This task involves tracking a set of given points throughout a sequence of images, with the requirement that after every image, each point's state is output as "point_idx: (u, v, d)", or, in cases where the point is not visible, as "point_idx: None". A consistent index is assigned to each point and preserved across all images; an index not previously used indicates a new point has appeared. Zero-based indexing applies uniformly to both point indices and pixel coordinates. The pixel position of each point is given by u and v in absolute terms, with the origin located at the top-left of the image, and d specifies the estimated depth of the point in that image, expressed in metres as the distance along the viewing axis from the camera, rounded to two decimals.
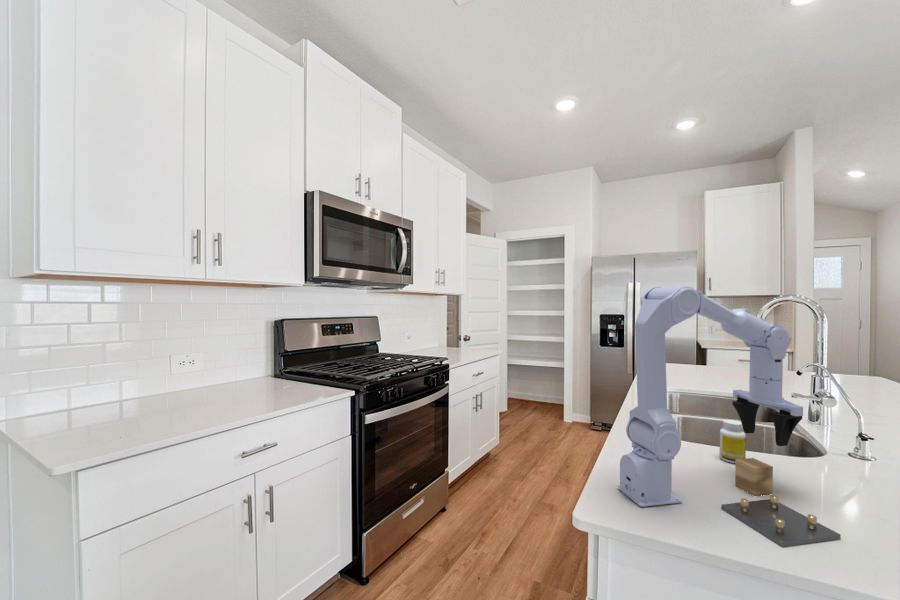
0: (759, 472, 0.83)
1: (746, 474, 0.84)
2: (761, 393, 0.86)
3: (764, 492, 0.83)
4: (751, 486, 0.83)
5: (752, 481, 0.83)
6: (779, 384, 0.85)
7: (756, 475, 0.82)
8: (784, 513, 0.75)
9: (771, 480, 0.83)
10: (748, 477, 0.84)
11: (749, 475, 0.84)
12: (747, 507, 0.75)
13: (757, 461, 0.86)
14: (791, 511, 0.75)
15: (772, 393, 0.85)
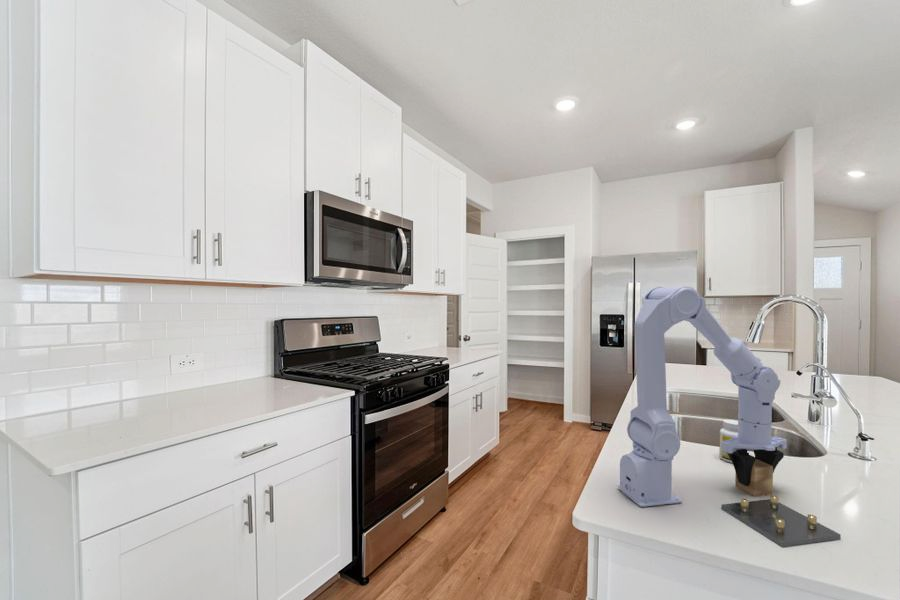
0: (759, 471, 0.83)
1: None
2: None
3: (764, 492, 0.83)
4: (751, 486, 0.83)
5: (752, 481, 0.83)
6: (745, 425, 0.84)
7: (756, 474, 0.82)
8: (784, 513, 0.75)
9: (771, 480, 0.83)
10: None
11: None
12: (747, 507, 0.75)
13: (757, 461, 0.86)
14: (791, 511, 0.75)
15: (739, 431, 0.86)
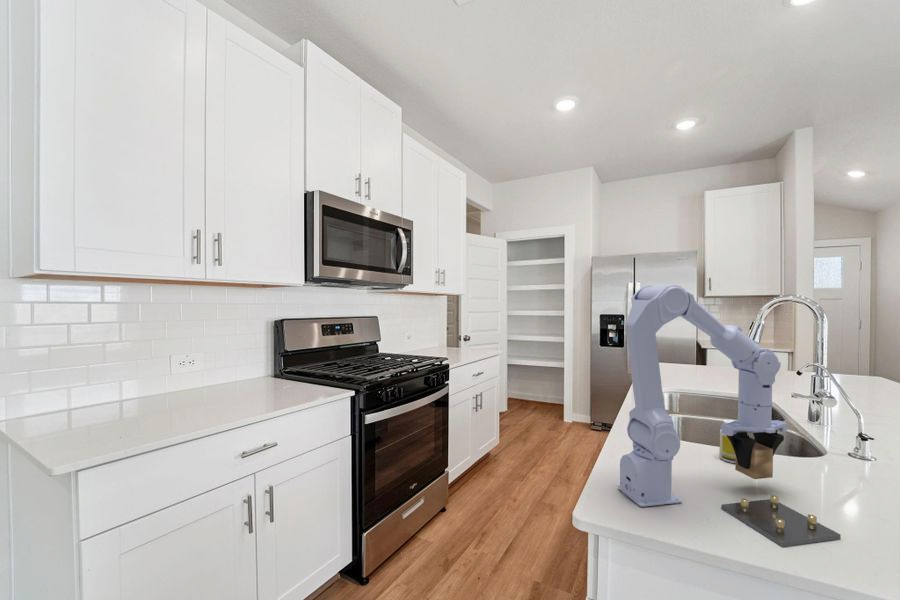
0: (759, 454, 0.83)
1: None
2: None
3: (764, 474, 0.83)
4: (751, 469, 0.83)
5: (752, 464, 0.83)
6: (745, 408, 0.84)
7: (756, 457, 0.82)
8: (784, 513, 0.75)
9: (771, 463, 0.83)
10: None
11: None
12: (747, 507, 0.75)
13: (757, 444, 0.86)
14: (791, 511, 0.75)
15: (739, 415, 0.85)
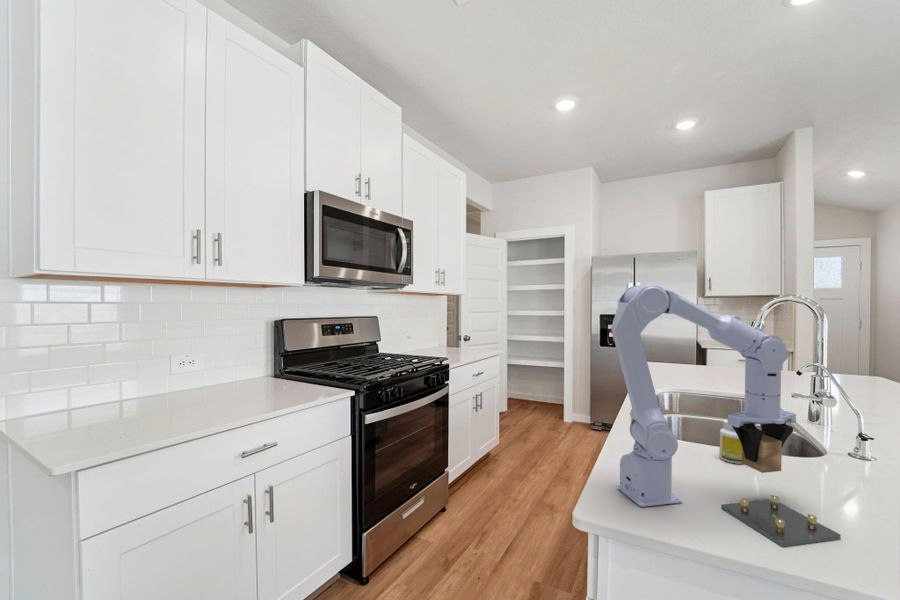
0: (768, 446, 0.78)
1: None
2: None
3: (772, 468, 0.79)
4: (758, 462, 0.79)
5: (760, 457, 0.79)
6: (752, 398, 0.80)
7: (764, 449, 0.78)
8: (784, 513, 0.75)
9: (780, 455, 0.79)
10: None
11: None
12: (747, 507, 0.75)
13: (765, 436, 0.81)
14: (791, 511, 0.75)
15: (746, 405, 0.81)
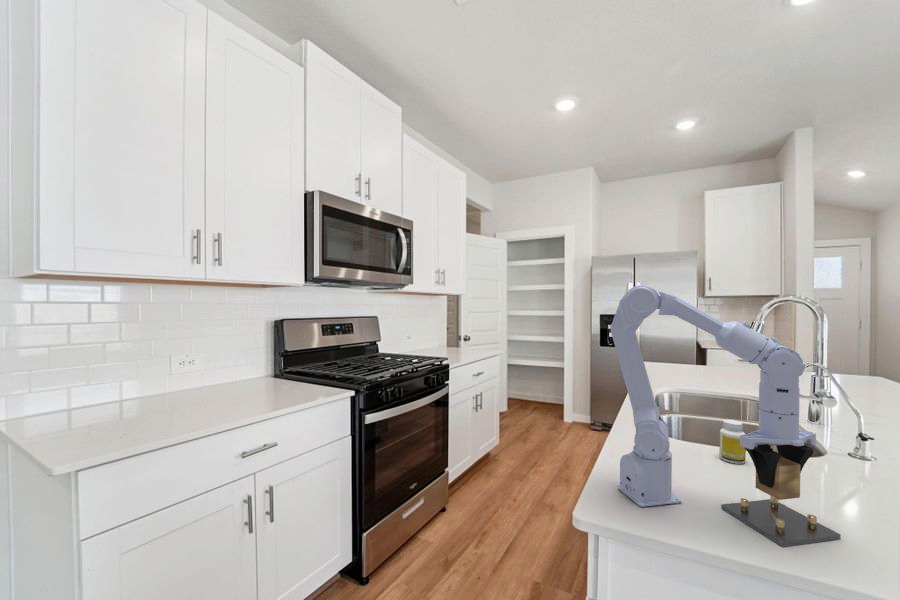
0: (785, 471, 0.70)
1: None
2: None
3: (790, 494, 0.71)
4: (774, 487, 0.71)
5: (776, 482, 0.71)
6: (767, 416, 0.72)
7: (781, 474, 0.70)
8: (784, 513, 0.75)
9: (798, 480, 0.71)
10: None
11: None
12: (747, 507, 0.75)
13: (781, 458, 0.74)
14: (791, 511, 0.75)
15: (760, 424, 0.73)
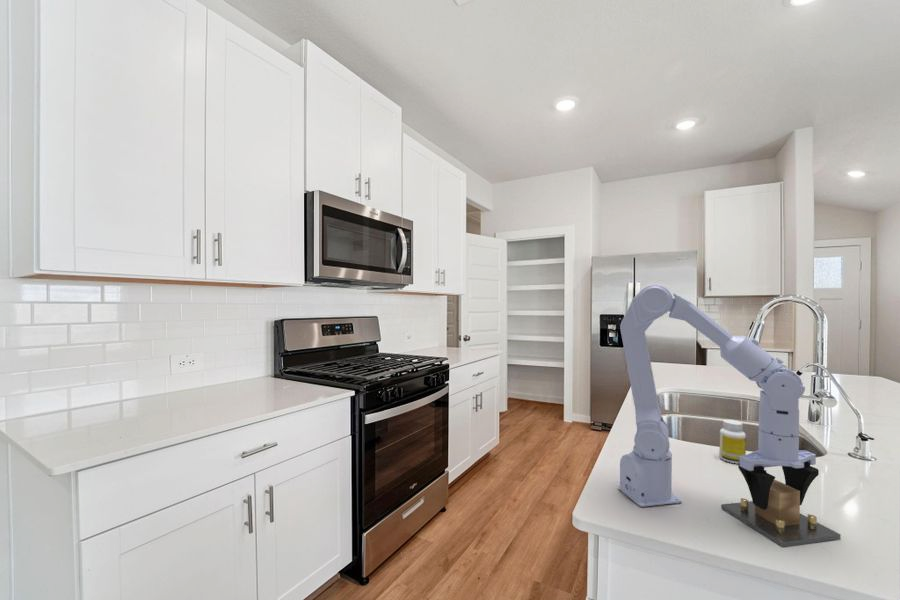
0: (785, 497, 0.71)
1: (769, 499, 0.72)
2: None
3: (790, 521, 0.71)
4: (774, 514, 0.71)
5: (776, 509, 0.71)
6: (767, 437, 0.72)
7: (781, 501, 0.70)
8: None
9: (798, 507, 0.71)
10: (772, 503, 0.72)
11: (773, 501, 0.71)
12: (747, 507, 0.75)
13: (780, 484, 0.74)
14: None
15: (760, 445, 0.73)
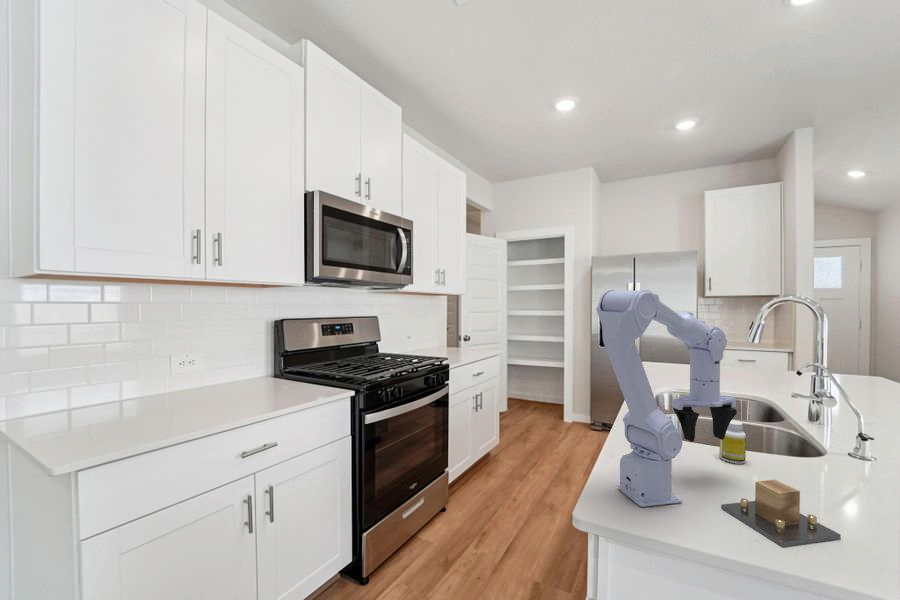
0: (785, 497, 0.71)
1: (769, 499, 0.72)
2: None
3: (790, 521, 0.71)
4: (774, 514, 0.71)
5: (776, 509, 0.71)
6: (695, 383, 0.88)
7: (781, 501, 0.70)
8: None
9: (798, 507, 0.71)
10: (772, 503, 0.72)
11: (773, 501, 0.71)
12: (747, 507, 0.75)
13: (780, 484, 0.74)
14: None
15: (690, 390, 0.90)
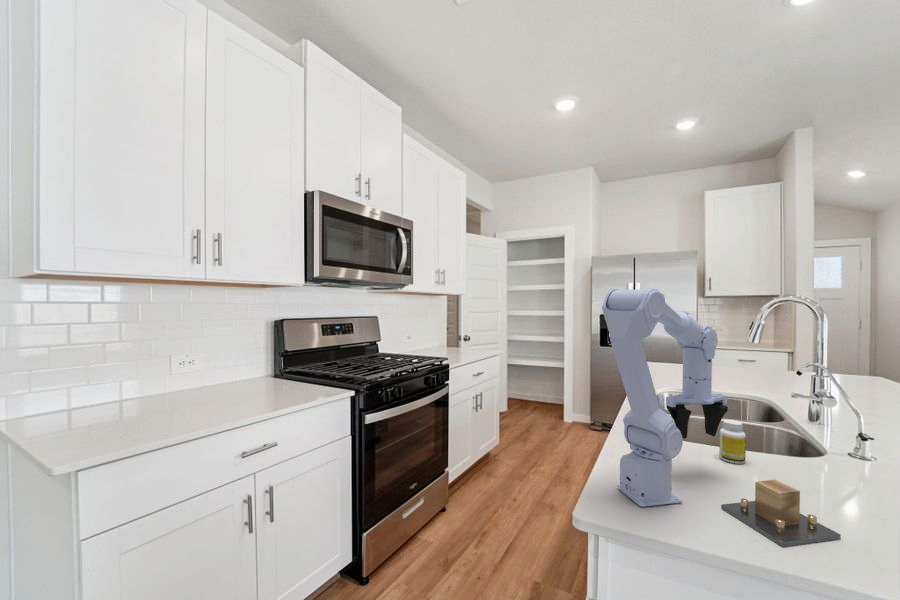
0: (785, 497, 0.71)
1: (769, 499, 0.72)
2: None
3: (790, 521, 0.71)
4: (774, 514, 0.71)
5: (776, 509, 0.71)
6: (687, 381, 0.90)
7: (781, 501, 0.70)
8: None
9: (798, 507, 0.71)
10: (772, 503, 0.72)
11: (773, 501, 0.71)
12: (747, 507, 0.75)
13: (780, 484, 0.74)
14: None
15: (683, 388, 0.92)
